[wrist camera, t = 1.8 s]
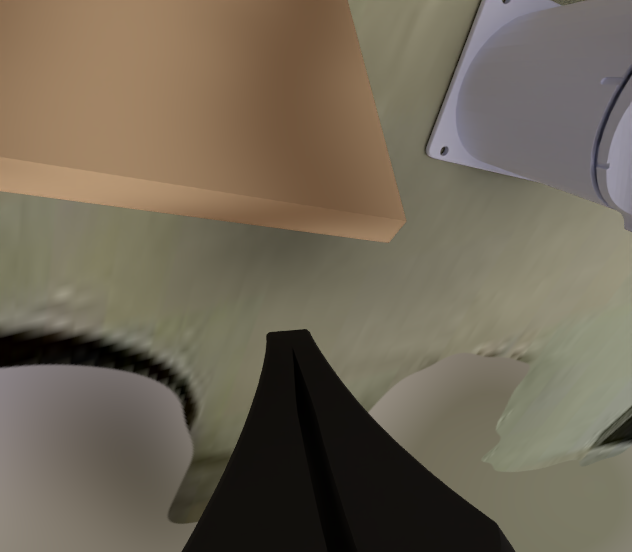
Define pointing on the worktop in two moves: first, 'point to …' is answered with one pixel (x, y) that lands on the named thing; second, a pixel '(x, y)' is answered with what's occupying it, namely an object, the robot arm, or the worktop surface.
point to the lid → (197, 112)
